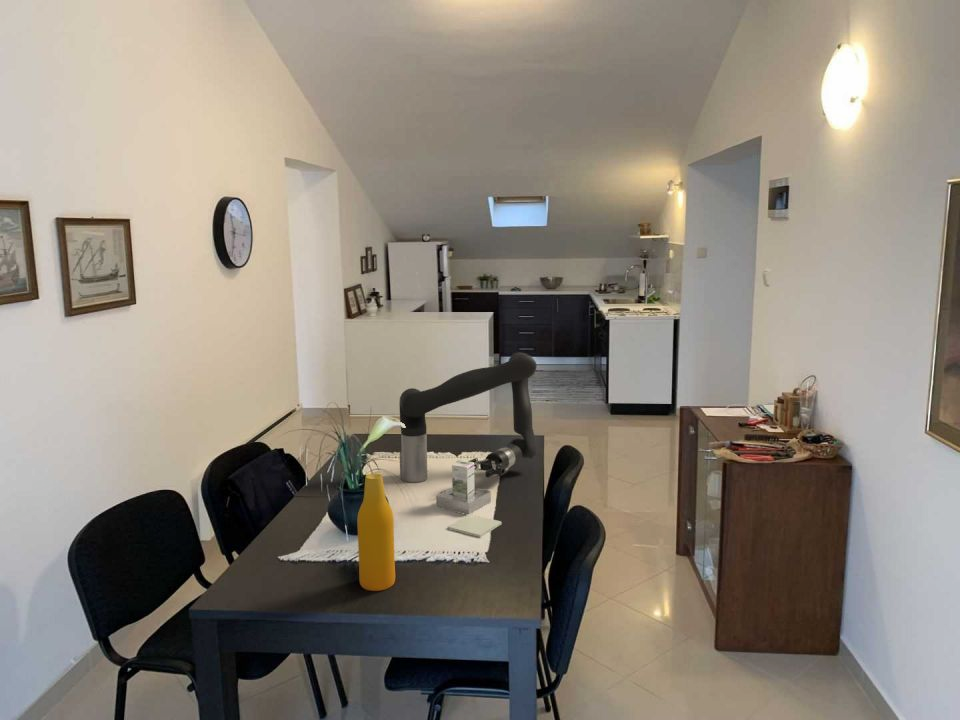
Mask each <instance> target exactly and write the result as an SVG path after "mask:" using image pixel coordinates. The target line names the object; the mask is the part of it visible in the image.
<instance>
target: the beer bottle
mask: <svg viewBox="0 0 960 720" xmlns="http://www.w3.org/2000/svg"><path fill="white" fill-rule="evenodd" d="M364 478H365V480H364V492H363V501H362V503H361V505H360V508H359V510H358V513H357V520H356V522H357V523H356V524H357V542H358V547H357V548H358V549H357V550H358V569H359V570H358V572H359V573H358V575H359V577H358V578H359V584H360V586H361V587H362V588H363V589H364V590H365V591H371V592H379V591H385V590H387V589H389V588H391V587H393V585H394V584H395V581H396V567H395V566H396V565H395V564H396V563H395V561H396V560H395V559H396V558H395V534H394V533H395V532H394V531H395V530H394V527H395V526H394V522H395V521H394V520H395V519H394V514H393V510H392V507H391V506H390V504H389V502H388V500H387V497H386V492H385V485H384V479H383V475H382V474H380V473H377V472H376V473H369V474H366V475H365V477H364Z"/></svg>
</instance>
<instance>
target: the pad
mask: <svg viewBox="0 0 960 720" xmlns="http://www.w3.org/2000/svg"><path fill="white" fill-rule="evenodd" d="M502 524H503V523H502V521H500V520H496V519H492V518H489V517H485V516H480V515H476V514H474V513H472V514H468V515H466V514H465V516H464V517H461V518H460V519H458V520H456V521H455V522H453V523H451V524H449V525H448V526H447V530H450V529H451V530H450V531H453V530H455V531H454V532H457V531H459V532H458V533H461V532H463V533H462V534H465V533H467V534H466V535H469V534H471V535H470V536H472V535H474V536H473V537H476V536H478V537H477V538H480V537H481V538H482V537H484V536H486V535H487V534H488V533H490V532H492V531H493V530H494V529H496V528H497V527H499V526H501V525H502ZM486 533H487V534H486ZM483 535H484V536H483Z"/></svg>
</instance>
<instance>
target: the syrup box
mask: <svg viewBox="0 0 960 720" xmlns="http://www.w3.org/2000/svg"><path fill="white" fill-rule="evenodd" d="M474 468H475V467H474V462H468V461H466V460H457V461H456V462H454V463H453V464H452V465H451V476H452V477H451V481H452V482H451V485H452V487H453V496H456V497H461V498H465V499H467V498H469V497H471V496H473V495H475V493H474V488H475V470H474ZM452 487H451V488H452Z"/></svg>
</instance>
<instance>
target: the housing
mask: <svg viewBox="0 0 960 720" xmlns="http://www.w3.org/2000/svg"><path fill="white" fill-rule="evenodd" d="M474 493H475V495H473V496H471V497H469V498H467V499H465V498H461V497H456V496H453V487H451V488H449V489H447V490H445V491H443V492H441V493H438V494H437V495H436V496H435V497H436V498H435V502H436V503H435V504H436V505H435V506H436V508H437V509H442V508H443V509H442V510H446V509H447V510H446V511H450V510H451V511H450V512H454V511H455V513H458V512H460V513H459V514H462V513H464V514H463V515H466V514H471V513H472V514H474V513H475V512H474V511H476V510H477V511H479V510H481V509H482V508H484V507H486V506H488V505H489V504H491V503H490V502H492V498H491V497H492V491H491V490H486V489H484V488H483V489H481V488H478V487H474ZM487 504H488V505H487ZM485 505H486V506H485ZM483 506H484V507H483ZM480 508H481V509H480ZM478 509H479V510H478ZM477 511H476V512H477ZM473 512H474V513H473Z"/></svg>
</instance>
